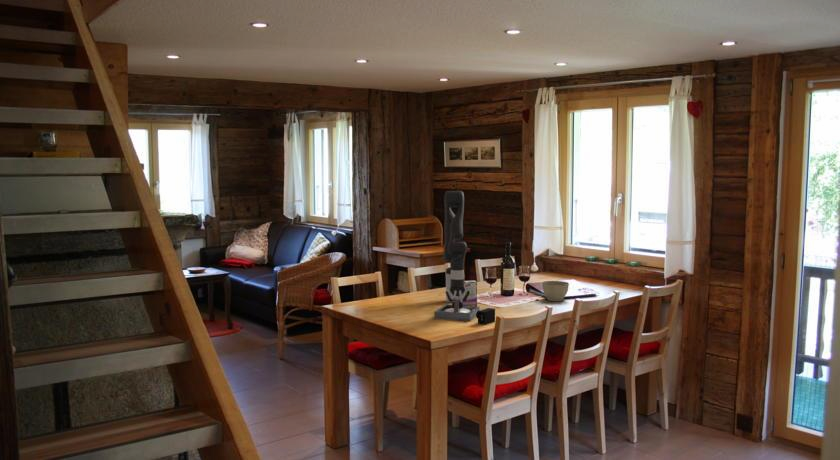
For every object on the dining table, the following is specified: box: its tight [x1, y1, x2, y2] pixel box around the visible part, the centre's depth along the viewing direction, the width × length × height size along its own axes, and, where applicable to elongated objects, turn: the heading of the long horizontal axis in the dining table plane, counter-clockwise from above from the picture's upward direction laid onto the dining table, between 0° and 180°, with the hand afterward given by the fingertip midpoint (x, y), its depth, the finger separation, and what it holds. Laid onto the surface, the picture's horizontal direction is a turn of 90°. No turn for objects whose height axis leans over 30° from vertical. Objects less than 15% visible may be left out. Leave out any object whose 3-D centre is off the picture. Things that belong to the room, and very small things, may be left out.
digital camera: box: [475, 307, 496, 326], centre depth 367 cm, size 10×5×7 cm, turn 142°
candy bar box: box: [457, 280, 478, 307], centre depth 400 cm, size 11×5×16 cm, turn 101°
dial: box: [445, 298, 470, 313], centre depth 382 cm, size 14×14×7 cm
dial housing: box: [433, 303, 481, 322], centre depth 383 cm, size 20×20×4 cm
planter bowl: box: [541, 280, 570, 302], centre depth 426 cm, size 16×16×11 cm
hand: (457, 308), depth 383 cm, fingers closed on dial, 3 cm apart
